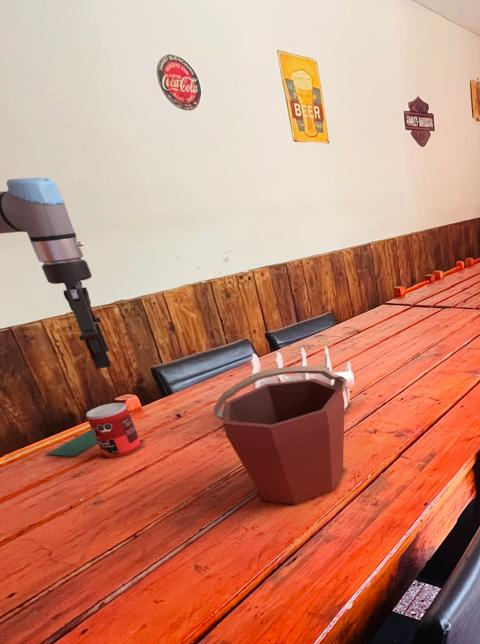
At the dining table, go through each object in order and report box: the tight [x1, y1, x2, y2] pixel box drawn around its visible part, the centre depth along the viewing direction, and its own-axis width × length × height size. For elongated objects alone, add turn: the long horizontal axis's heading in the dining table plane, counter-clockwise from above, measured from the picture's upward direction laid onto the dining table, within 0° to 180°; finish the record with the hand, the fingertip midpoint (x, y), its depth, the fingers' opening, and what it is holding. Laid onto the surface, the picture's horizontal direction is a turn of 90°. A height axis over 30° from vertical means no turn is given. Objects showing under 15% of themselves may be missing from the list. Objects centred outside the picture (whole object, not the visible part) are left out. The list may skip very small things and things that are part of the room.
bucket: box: [212, 365, 347, 505], centre depth 102 cm, size 24×22×25 cm
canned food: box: [85, 402, 141, 458], centre depth 123 cm, size 8×8×11 cm
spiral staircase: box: [250, 345, 355, 412], centre depth 135 cm, size 18×18×25 cm
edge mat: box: [47, 429, 98, 457], centre depth 130 cm, size 8×14×1 cm, turn 169°
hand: (103, 359), depth 113 cm, fingers open, 13 cm apart
